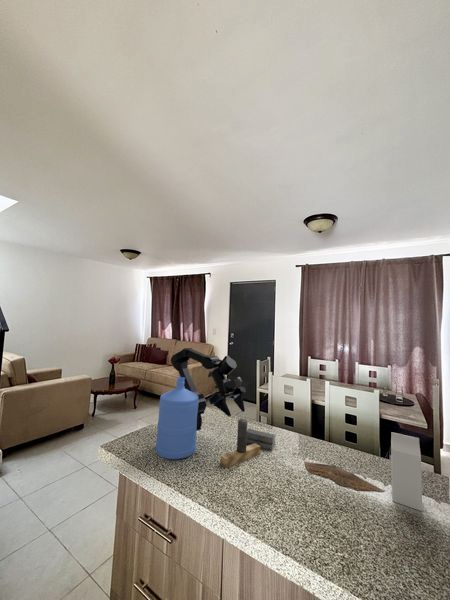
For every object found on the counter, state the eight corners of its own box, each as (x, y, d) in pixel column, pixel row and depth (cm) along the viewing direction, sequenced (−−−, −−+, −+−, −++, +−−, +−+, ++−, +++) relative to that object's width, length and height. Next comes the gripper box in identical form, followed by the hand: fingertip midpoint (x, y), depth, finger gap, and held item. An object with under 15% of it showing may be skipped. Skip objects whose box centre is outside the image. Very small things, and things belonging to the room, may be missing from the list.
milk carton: (422, 512, 71) (420, 442, 73) (392, 501, 75) (391, 435, 77) (419, 498, 77) (417, 434, 79) (391, 489, 81) (390, 428, 83)
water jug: (184, 464, 89) (189, 384, 92) (147, 455, 94) (153, 379, 97) (201, 445, 104) (206, 376, 107) (169, 438, 109) (173, 372, 112)
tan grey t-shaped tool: (225, 468, 88) (228, 427, 90) (219, 463, 91) (221, 423, 92) (260, 454, 99) (261, 417, 101) (254, 450, 102) (255, 415, 104)
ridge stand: (244, 443, 108) (244, 432, 108) (248, 438, 113) (249, 427, 114) (271, 450, 103) (272, 439, 103) (275, 444, 108) (275, 433, 109)
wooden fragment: (298, 469, 90) (298, 466, 90) (308, 458, 99) (308, 455, 99) (382, 503, 75) (382, 500, 75) (385, 486, 83) (385, 483, 83)
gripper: (217, 373, 103) (234, 408, 95) (244, 369, 117) (262, 400, 108) (202, 387, 108) (217, 422, 99) (230, 381, 121) (246, 412, 113)
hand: (237, 413), depth 105 cm, fingers open, 9 cm apart
